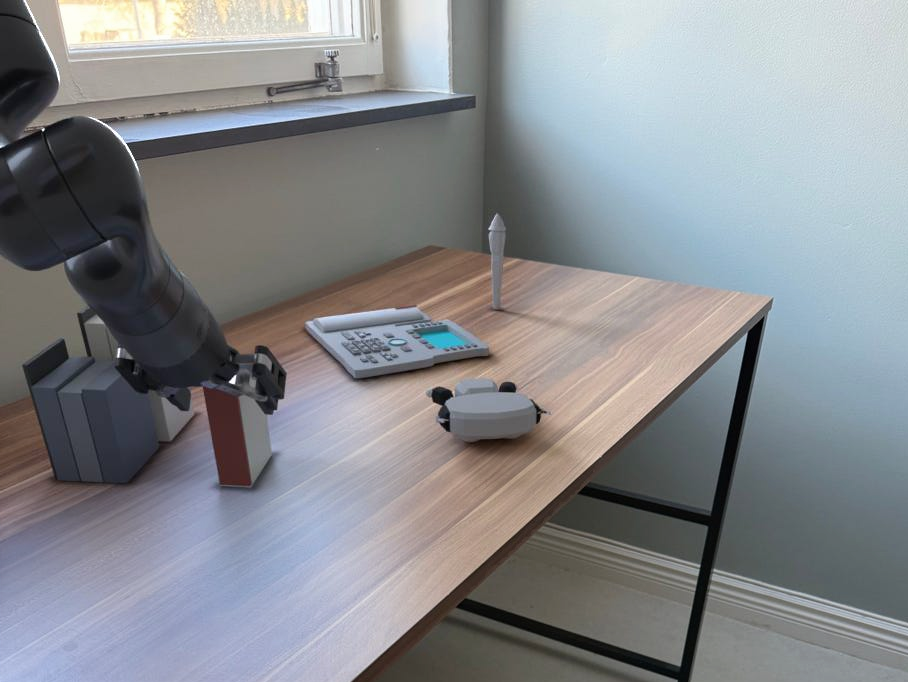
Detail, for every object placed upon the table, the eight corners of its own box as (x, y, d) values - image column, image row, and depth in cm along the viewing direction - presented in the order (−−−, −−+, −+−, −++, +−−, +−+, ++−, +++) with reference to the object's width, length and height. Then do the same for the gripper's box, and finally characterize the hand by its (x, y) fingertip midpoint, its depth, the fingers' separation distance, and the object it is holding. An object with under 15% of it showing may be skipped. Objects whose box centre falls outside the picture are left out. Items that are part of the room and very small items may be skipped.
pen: (501, 312, 143) (503, 215, 134) (485, 310, 143) (486, 214, 135) (506, 308, 145) (508, 212, 136) (490, 306, 145) (491, 210, 137)
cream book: (220, 486, 94) (201, 382, 88) (243, 453, 101) (228, 354, 94) (250, 488, 94) (234, 384, 87) (272, 454, 100) (258, 355, 94)
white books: (107, 439, 103) (76, 313, 95) (135, 411, 110) (108, 291, 101) (170, 442, 103) (144, 315, 95) (194, 414, 109) (172, 293, 101)
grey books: (52, 480, 95) (19, 366, 88) (89, 444, 102) (61, 336, 95) (127, 483, 94) (99, 369, 87) (159, 447, 102) (136, 339, 95)
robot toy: (421, 413, 112) (443, 456, 100) (419, 376, 110) (442, 415, 97) (518, 406, 114) (551, 447, 102) (519, 369, 112) (553, 407, 99)
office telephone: (302, 312, 134) (428, 296, 141) (304, 330, 136) (428, 313, 142) (354, 360, 117) (494, 339, 124) (355, 380, 118) (494, 358, 125)
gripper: (253, 282, 75) (302, 371, 91) (84, 277, 76) (163, 365, 92) (243, 369, 74) (295, 443, 90) (72, 362, 75) (154, 436, 91)
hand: (228, 403), depth 91 cm, fingers open, 8 cm apart
